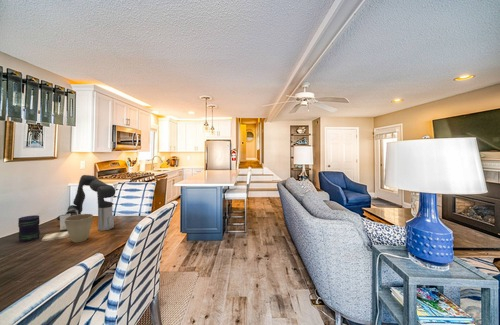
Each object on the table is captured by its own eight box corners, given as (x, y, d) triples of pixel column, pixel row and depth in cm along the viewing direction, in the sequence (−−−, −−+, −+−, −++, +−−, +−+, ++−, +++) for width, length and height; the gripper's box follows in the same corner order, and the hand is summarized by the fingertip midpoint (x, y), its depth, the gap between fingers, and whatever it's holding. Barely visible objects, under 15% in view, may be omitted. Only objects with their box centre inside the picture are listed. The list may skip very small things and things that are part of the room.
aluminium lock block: (70, 229, 161) (70, 213, 160) (69, 231, 155) (69, 215, 155) (61, 230, 158) (61, 214, 157) (59, 232, 153) (59, 216, 152)
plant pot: (75, 236, 147) (75, 213, 146) (98, 235, 148) (98, 213, 148) (58, 245, 132) (58, 220, 132) (83, 244, 134) (83, 220, 133)
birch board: (75, 232, 154) (75, 230, 154) (73, 236, 146) (73, 234, 146) (46, 236, 146) (46, 234, 146) (41, 241, 137) (41, 239, 137)
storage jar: (24, 237, 143) (23, 216, 143) (43, 235, 147) (42, 214, 146) (14, 243, 134) (14, 220, 133) (34, 241, 137) (34, 218, 137)
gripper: (60, 210, 174) (55, 215, 160) (82, 208, 181) (79, 213, 167) (60, 219, 174) (55, 225, 160) (82, 217, 181) (79, 222, 168)
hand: (67, 219), depth 164 cm, fingers open, 8 cm apart
